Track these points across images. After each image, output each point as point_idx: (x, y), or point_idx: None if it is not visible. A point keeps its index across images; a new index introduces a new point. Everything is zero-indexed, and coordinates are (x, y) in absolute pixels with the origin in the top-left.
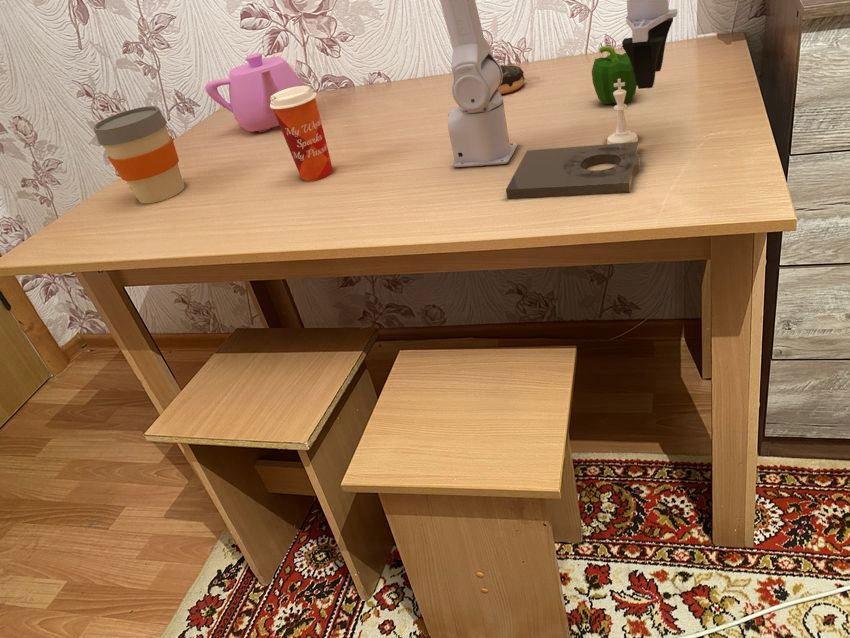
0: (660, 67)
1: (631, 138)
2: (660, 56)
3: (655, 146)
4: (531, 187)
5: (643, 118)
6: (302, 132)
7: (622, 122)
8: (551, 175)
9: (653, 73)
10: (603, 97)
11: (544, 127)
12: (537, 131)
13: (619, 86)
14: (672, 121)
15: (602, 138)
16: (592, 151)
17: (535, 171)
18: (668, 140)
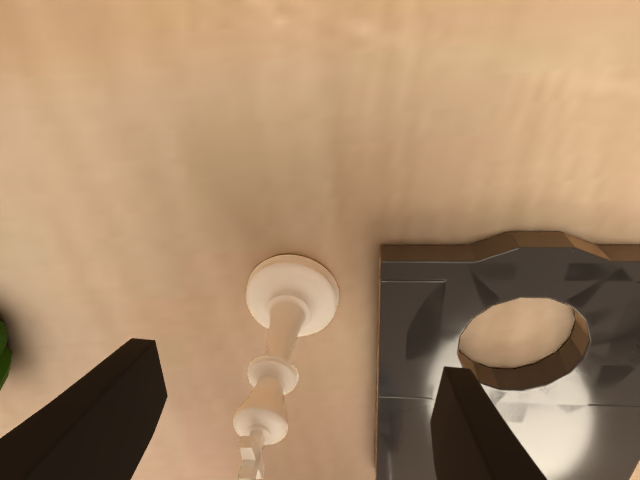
0: (144, 354)
1: (313, 278)
2: (99, 411)
3: (349, 197)
4: (631, 467)
5: (101, 251)
6: None
7: (295, 333)
8: (569, 439)
9: (522, 446)
10: (5, 376)
11: (178, 455)
12: (204, 464)
13: (258, 451)
14: (122, 159)
15: (261, 341)
16: (428, 370)
17: None
18: (301, 159)
